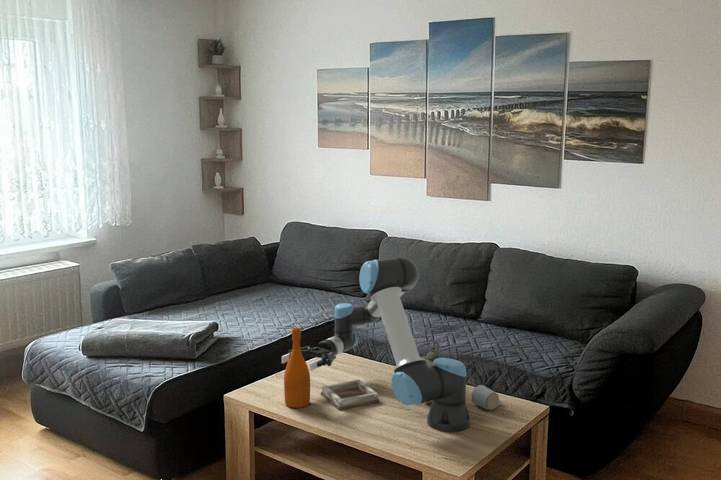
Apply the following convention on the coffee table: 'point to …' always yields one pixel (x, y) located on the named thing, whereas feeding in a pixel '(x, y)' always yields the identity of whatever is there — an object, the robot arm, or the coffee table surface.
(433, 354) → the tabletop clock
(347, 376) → the coffee table surface
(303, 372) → the wine bottle
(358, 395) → the bottle stand
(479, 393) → the ceramic mug
